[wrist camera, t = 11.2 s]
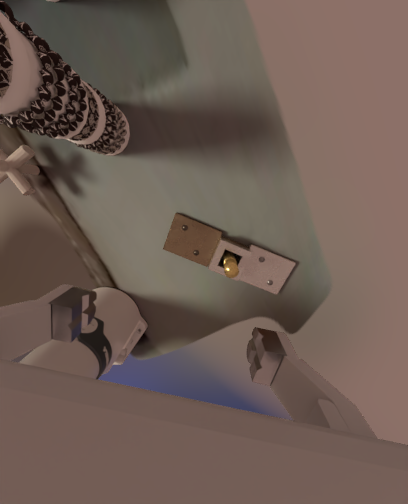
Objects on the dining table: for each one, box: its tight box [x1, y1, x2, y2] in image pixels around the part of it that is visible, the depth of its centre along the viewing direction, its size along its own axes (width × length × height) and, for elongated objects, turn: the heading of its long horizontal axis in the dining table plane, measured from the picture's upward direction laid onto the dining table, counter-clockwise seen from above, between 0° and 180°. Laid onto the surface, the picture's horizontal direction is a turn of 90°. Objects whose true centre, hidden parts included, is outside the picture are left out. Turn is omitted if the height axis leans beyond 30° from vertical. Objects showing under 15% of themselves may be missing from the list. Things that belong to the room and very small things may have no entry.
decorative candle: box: [0, 0, 130, 155], centre depth 23 cm, size 9×9×25 cm
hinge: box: [163, 213, 296, 295], centre depth 38 cm, size 26×8×4 cm, turn 68°
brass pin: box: [223, 250, 239, 278], centre depth 36 cm, size 2×2×9 cm
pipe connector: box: [0, 145, 40, 195], centre depth 33 cm, size 10×10×10 cm
